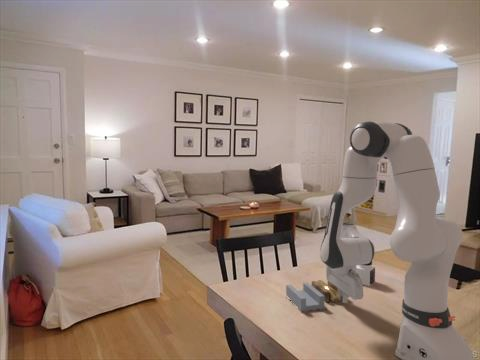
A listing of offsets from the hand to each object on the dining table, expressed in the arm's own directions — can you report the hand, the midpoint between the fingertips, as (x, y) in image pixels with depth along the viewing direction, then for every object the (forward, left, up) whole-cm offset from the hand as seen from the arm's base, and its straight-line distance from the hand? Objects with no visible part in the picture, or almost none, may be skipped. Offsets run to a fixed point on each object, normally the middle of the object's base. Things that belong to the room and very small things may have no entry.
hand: (343, 301), depth 132 cm
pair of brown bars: (+11, 0, -2) cm, 12 cm away
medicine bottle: (+19, -23, -2) cm, 30 cm away
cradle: (+7, +12, -2) cm, 15 cm away
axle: (+11, 0, 0) cm, 12 cm away
